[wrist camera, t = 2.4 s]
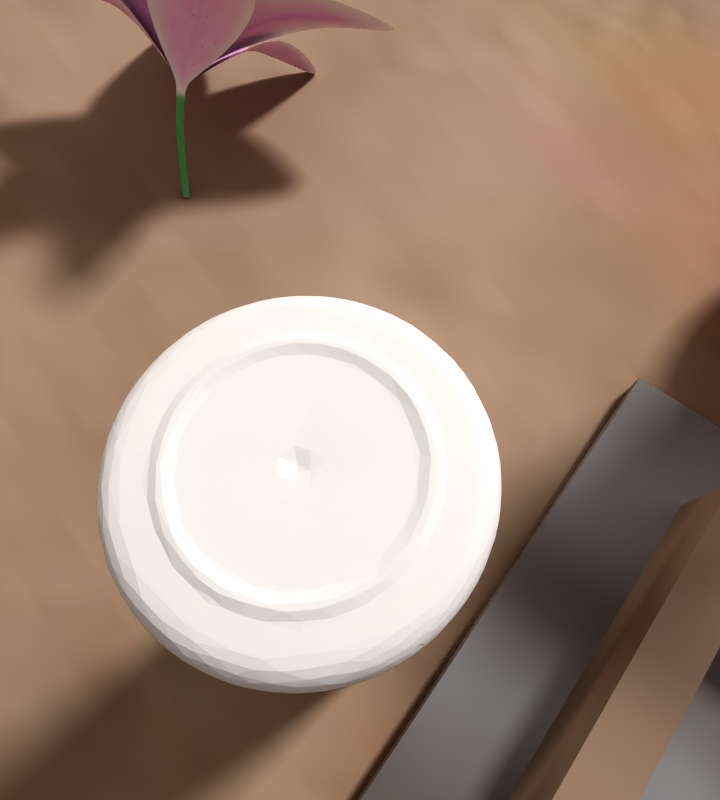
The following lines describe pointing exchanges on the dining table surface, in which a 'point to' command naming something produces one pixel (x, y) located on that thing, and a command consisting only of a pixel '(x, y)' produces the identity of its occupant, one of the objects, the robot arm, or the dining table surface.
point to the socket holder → (591, 638)
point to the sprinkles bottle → (299, 494)
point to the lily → (231, 36)
